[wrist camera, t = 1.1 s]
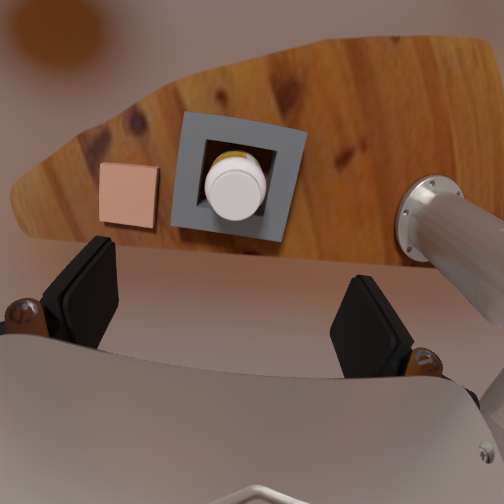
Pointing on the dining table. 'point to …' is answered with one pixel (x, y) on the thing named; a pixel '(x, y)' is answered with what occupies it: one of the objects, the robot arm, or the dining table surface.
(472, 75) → the dining table surface
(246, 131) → the frame
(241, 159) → the supplement bottle
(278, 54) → the dining table surface
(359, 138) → the dining table surface
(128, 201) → the mat
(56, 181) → the dining table surface
